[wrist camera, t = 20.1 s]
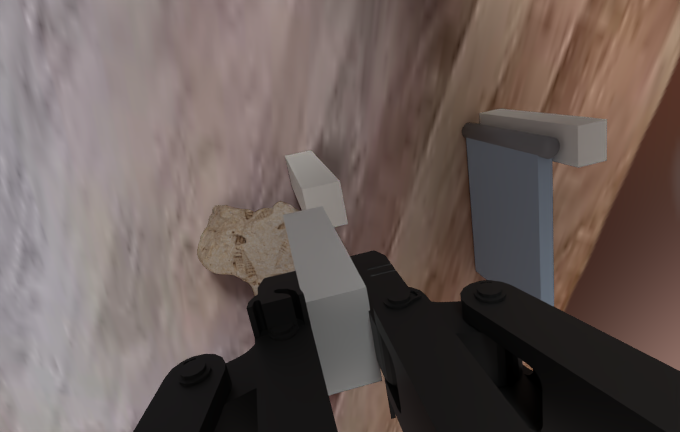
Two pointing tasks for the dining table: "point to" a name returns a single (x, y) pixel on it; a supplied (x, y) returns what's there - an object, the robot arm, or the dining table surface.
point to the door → (512, 206)
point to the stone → (247, 243)
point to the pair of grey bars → (571, 131)
